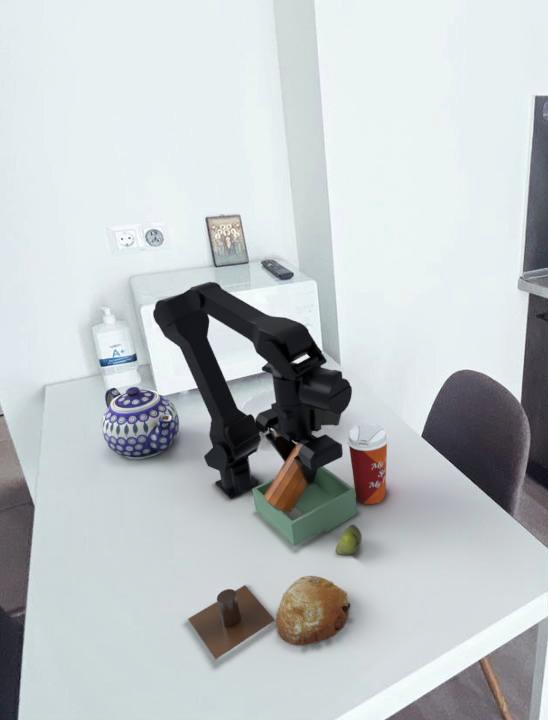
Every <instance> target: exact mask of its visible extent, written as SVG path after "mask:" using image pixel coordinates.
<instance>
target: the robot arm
mask: <svg viewBox="0 0 548 720" xmlns="http://www.w3.org/2000/svg"><path fill="white" fill-rule="evenodd" d="M152 315H153V316H152V317H153V320H154V322H155V323H156V325H157V326H158V327H159V329H160V331H161V332H162V334H163V336H164V337H165V338H166V339H167V340H169V341H170V342H172V343H173V344H175V345H176V346H177V347H179V349H180V351H181V353H182V356H183V358H184V360H185V362H186V364H187V367H188V369H189V371H190V374H191V376H192V378H193V380H194V383H195V385H196V387H197V389H198V391H199V394H200V396H201V398H202V401H203V403H204V405H205V407H206V410H207V412H208V414H209V416H210V420H211V421H210V427H209V435H208V436H209V440H210V443H211V446H212V447H211V449H209V450H208V452H207V453H206V454H204V455H203V458H204V461H205V463H206V465H207V467H209V468H211V469H214V470H216V471H218V472H219V477H220V479H218V480H217V481H215V482H214V484H215V486H216V487H217V488H218V489H219V490H220V491H221V492H222V493H223V495H225V496H226V497H227V498H228V499H232V498H235V497H236V496H239V495H241V494H243V493H245V492H247V491H249V490H252V489H253V488H255V487H257V486H259V485H260V481H259V480H258V479H257V478H256V477H254V475H252V469H251V465H250V459H249V456H252V455H253V454H254V453H257V452H258V448H259V446H260V442H261V440H262V439H261V438H262V437H261V434H263V433H266V432H267V431H268V428H269V433H268V434H266V436H265V439H267V441H268V442H269V443H270V444H271V445H272V447H273V448H274V450H275V452H277V454H278V455H279V456H280V458H281V459H282V461H283V462H284V463H285V461H286V460H287V458H288V457H289V455H290V453H291V452H292V450H293V448H294V447H295V445H298V444H303V445H302V447H301V448H300V450H299V455H298V456H296V457H294V460H295V462H296V464H297V465H298V467H299V469H300V471H301V473H302V475H303V477H304V478H305V480H306V482H307V483H308V484H311V483H313V482H314V479H315V476H316V473H317V469H318V468H320V467H322V466H323V467H325V466H326V465H328V464H330V463H333V462H334V461H337V460H339V459H341V458H343V455H344V453H343V452H344V451H343V450H344V449H343V444H342V443H340V442H339V441H338V440H336V439H334V438H333V437H331V436H329V435H327V434H323V435H320V436H318V437H317V436H316V435H314V434H313V432H320V431H321V430H322V429H323V426H335V427H337V426H339V425H340V421H341V417H342V414H343V413H344V412H345V411H346V410H347V408H348V407H349V405H350V402H351V399H352V395H353V388H352V386H351V383H350V382H349V380H348V379H347V378H345V377H344V378H343V372H342V371H341V370H338V369H329V368H325V367H322V366H323V365H325V364H326V363H327V362H328V361H327V358H326V357H325V355H324V354H323V351H322V350H321V349H320V347H319V346H318V344H317V343H316V341H315V339H314V338H313V336H312V335H311V333H310V331H309V329H308V327H307V326H305V325H304V324H303V323H302V322H299V321H297V320H293V319H291V318H288V317H284V316H273V315H270V314H266V313H265V312H263V311H261V310H259V309H258V308H256V307H254V306H253V305H251V304H249V303H247V302H245V301H244V300H242V299H241V298H239V297H237V296H235V295H234V294H232V293H230V292H228V291H227V290H225V289H224V288H222V287H221V285H220V284H219V283H217V282H215V281H213V282H212V281H207V282H204V283H200V284H198V285H194V286H191V287H190V288H189V289H187V290H186V291H184V292H182V293H179V294H175V295H172V296H169V297H165V298H162V299H160V300H157V301H156V303H155V305H154V309H153V311H152ZM209 316H210V317H211V318H213V319H214V320H216V321H218V322H219V323H221V324H223V325H224V326H226V327H228V328H229V329H231V330H232V331H234V332H235V333H238V334H239V335H241V336H242V337H244V338H246V339H248V340H249V341H250V342H251V343H252V345H253V347H254V350H255V352H256V354H257V355H258V356H260V357H261V358H262V359H264V361H266V363H265V364H264V365H263V366H262V367H261V371H262V372H265V373H267V374H271V376H272V384H273V390H274V393H275V400H276V403H273V404H271V407H272V408H271V409H268V410H266V411H263V412H261V413H259V414H258V416H257V417H256V419H254V417H253V416H252V415H251V414H249V415H246V414H245V413H243V412H242V410H240V409H239V408H238V406H237V403H236V401H235V399H234V396H233V394H232V392H231V390H230V387H229V385H228V383H227V379H226V378H225V375H224V374H223V371H222V369H221V366H220V364H219V362H218V359H217V357H216V355H215V352H214V350H213V348H212V345H211V343H210V341H209V338H208V335H209V329H210V317H209ZM306 355H307V356H308V357H307V358H305V359H304V360H302V361H300V362H295V361H297V360H298V359H300V358H303V357H305V356H306ZM255 421H256V422H255ZM261 432H262V433H261Z"/></svg>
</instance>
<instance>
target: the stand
mask: <svg viewBox="0 0 548 720" xmlns="http://www.w3.org/2000/svg"><path fill="white" fill-rule="evenodd" d="M187 621H188V622H189V624H190V625H191V626H192V628H193V629H194V631H195V632H196V634H197V635H198V637H199V639H200V640H201V641H202V643H203V644H204V646H205V648H207V650H208V652H209V653H210V654H211V656H212V658H213V659H214V660H216V661H217V660H218V658H221V657H222V656H223V655H225V654H226V653H229V652H230V651H231V650H233V649H234V648H236V647H237V646H239V645H240V644H242V643H244V642H245V641H246V640H248V639H249V638H251V637H253V636H254V635H255V634H257V633H259V632H260V631H261V630H263V629H264V628H267V627H268V626H269V625H271V624H272V623H273V622H276V619H275V618H274V617H273V616H272V615H271V614H270V613H269V611H268V610H267V609H266V608H265V607H264V605H263V604H262V602H261V601H259V599H258V598H257V597H256V596H255V595H254V594H253V592H252V591H251V590H250V589H249V588H248V586H246V584H245V585H243V586H241V587H239V588H238V589H236V590H234V589H232V588H226V589H224V590H222V591H220V592H219V593H218V595H217V596H216V601H215V602H214V603H212V604H211V605H209V606H207V607H206V608H204V609H202V610H200V611H199V612H196V613H195V614H194V615H192V616H190V617H188V618H187Z"/></svg>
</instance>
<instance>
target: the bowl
mask: <svg viewBox="0 0 548 720" xmlns="http://www.w3.org/2000/svg"><path fill="white" fill-rule="evenodd" d="M273 403H276V400H275V393H274V389H271V390H267V391H264V392H260V393H258V394H255V395H253V396H251V397H250V398H248V399H247V400H246V401H245V402H244V403H243V404H242V407H241V411H242V412H243V413H245V414H246V415H249V414H251V415H252V416H253V417H254V419H256V417H257V416H258V414H259V413H261V412H263V411H266V410H268V409H271V408H272V407H271V404H273ZM255 422H256V421H255ZM268 433H269V428H268V431H267V432H266V433H262V432H260V434H262V435H263V436H264V437H266V434H268Z"/></svg>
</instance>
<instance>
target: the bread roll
mask: <svg viewBox="0 0 548 720" xmlns="http://www.w3.org/2000/svg"><path fill="white" fill-rule="evenodd" d="M350 607H351V603H350V602H348V592H347V591H346V590H344V589H342V588H341V587H339V586H337V585H336V584H335V583H334V581H332V580H331V581H330V580H328V579H326V578H325V577H324V578H323V577H321V576H317V575H304V576H302V577H299V578H297V579H296V580H295V581H293V583H291V585H290V586H288V588H287V589H286V590H285V592H283V593H282V597H281V599H280V603H279V606H278V611H277V613H276V618H275V626H276V630H277V634H278V635H279V637H280V638H281V639H282V640H283V641H284V642H285V643H288V644H290V645H293V646H305V645H310V644H313V643H315V642H317V643H320V642H321V641H324V640H326V639H329V638H331V637H334V636H335V635H337V634H339V632H340V631H341V630H342V629H343V628H344V627H345V625H346V622H347V620H348V617H349V610H350Z"/></svg>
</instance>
